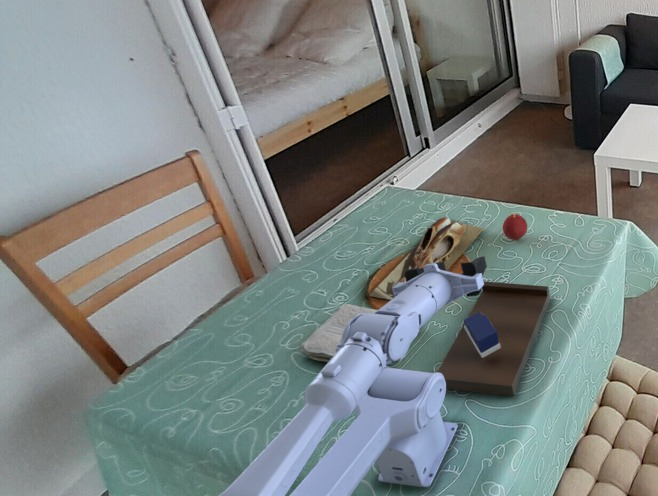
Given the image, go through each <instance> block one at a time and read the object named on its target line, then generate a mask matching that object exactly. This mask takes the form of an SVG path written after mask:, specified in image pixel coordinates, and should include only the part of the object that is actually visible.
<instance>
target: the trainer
mask: <svg viewBox="0 0 658 496" xmlns="http://www.w3.org/2000/svg"><path fill="white" fill-rule="evenodd" d="M467 317H468V316H467ZM467 317H466V318H464V319H463V322H464V323H465V325H464V324H463V325H464V328H465V331H466V332H467V334H468V336H469V337H470V339H471V341H472V342H473V344H474V346H475V347H476V349H477V351H478V352H479V354H480V356H481V357H482V358H483V357H485V356H487V355H489V354H491V353H492V352H494V351H496V350H498V349H500V348H501V346H500V343H499V340H498V335H497V331H496V330H495V328H494V327H493V325H492V324H491V322H490V321H489V319H488V318H487V316H486V315H482V313H481V312H478V313H476V314H474V315H472V316H470V317H468V318H467Z"/></svg>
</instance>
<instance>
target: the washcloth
mask: <svg viewBox="0 0 658 496" xmlns="http://www.w3.org/2000/svg"><path fill="white" fill-rule="evenodd" d="M378 310H379V309H376V308H375V309H374V308H370V307H369V308H368V307H364V306H359V305H356V304H350V303H345V304H343V305H341V306H339V307H337V308H335V310H334V312H333V314H331V315H330V317H329V318H328V319H326V321H324V323H322V324H321V325H320V326H319V327H318V328H317V329H316V330H314V332H312V333H311V335H310V336H308V337H307V338H306V340H305V341H304V342H302V343H301V344H300V347H301V349H300V353H301V354H303V355H306V356H307V357H308V358H310V359H311V360H315V361H319V362H327V363H328V362H329V361H330V360H331V359H332V357H333V356H334V355H335V354H336V353H337V352H336V348H337V345H338V344H339V342H340V341H341V338H342V335H343V332H344V330H345V327H346V326H347V324H348V322H349V321H350V320H352V319H353V318H354V317H355V316H356V315H358V314H360V313H373V314H374V313H375V312H376V311H378ZM386 366H388V364H386Z"/></svg>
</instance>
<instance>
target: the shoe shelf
mask: <svg viewBox="0 0 658 496" xmlns="http://www.w3.org/2000/svg"><path fill="white" fill-rule="evenodd" d="M483 282H484V285H483V286H482V291H481V292H480V293H479V295H478V298H477V299H476V301H475V303H474V305H473V307H472V309H471V310H470V311H469V314H468V316H467V317H466V318H468V317H470V316H472V315H474V314H476V313H478V312H481V313H482V315H486V316H487V318H488V319H489V321H490V322H491V324H492V325H493V327H494V328H495V330H496V331H497V335H498V340H499V343H500V346H501V348H500V349H498V350H496V351H494V352H492V353H491V354H489V355H487V356H485V357H483V358H482V357H481V356H480V354H479V352H478V351H477V349H476V347H475V346H474V344H473V342H472V341H471V339H470V337H469V336H468V334H467V332H466V331H465V328H464V325H465V322H464V323H463V324H462V326H461V328H460V329H459V332H458V333H457V335H456V337H455V339H454V341H453V342H452V344H451V346H450V348H449V349H448V351H447V353H446V355H445V357H444V358H443V361H442V362H441V363H440V365H439V367H438V369H437V371H436V372H438V373H441V374H442V375H443V376H444V379H445V382H446V390H451V391H452V390H453V391H461V392H462V391H463V392H471V393H481V394H489V395H490V394H492V395H501V396H510V397H514V396H515V394H516V392H517V390H518V387H519V384H520V381H521V379H522V376H523V374H524V371H525V369H526V366H527V364H528V361H529V358H530V355H531V353H532V350H533V347H534V345H535V342H536V340H537V337H538V335H539V332H540V329H541V327H542V324H543V322H544V319H545V316H546V314H547V311H548V308H549V306H550V304H551V294H550V287H549V286H546V285H545V286H544V285H535V284H521V283H508V282H495V281H484V280H483Z"/></svg>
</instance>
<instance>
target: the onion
mask: <svg viewBox="0 0 658 496" xmlns="http://www.w3.org/2000/svg"><path fill="white" fill-rule="evenodd" d="M502 232H503V234H504V236H505V237H506V238H507V239H509V240H512V241H519V240H520V239H522V238H523V237H524V236H525V235H526V234H527V232H528V223H527V221H526V219H525V218H524V217H523V216H522V215H520V214H518V213H515V212H512V213H511V214H509V215H508V216H507V217H506V218H505V219H504V221H503V224H502Z"/></svg>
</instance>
